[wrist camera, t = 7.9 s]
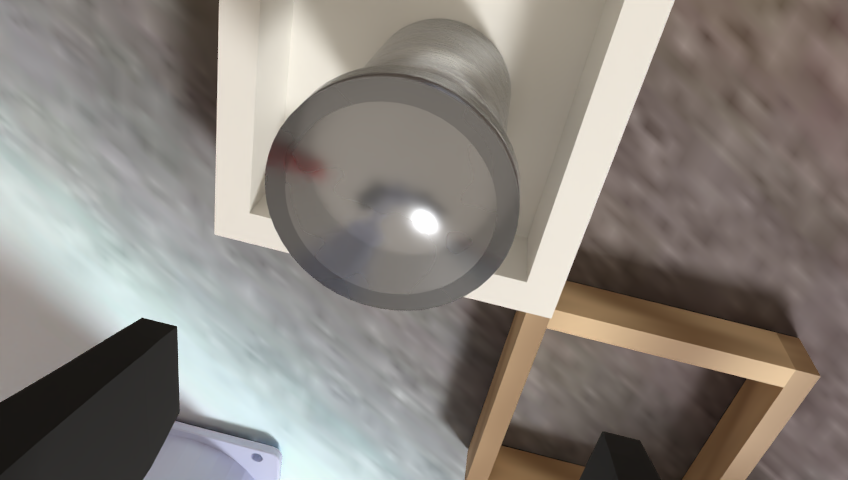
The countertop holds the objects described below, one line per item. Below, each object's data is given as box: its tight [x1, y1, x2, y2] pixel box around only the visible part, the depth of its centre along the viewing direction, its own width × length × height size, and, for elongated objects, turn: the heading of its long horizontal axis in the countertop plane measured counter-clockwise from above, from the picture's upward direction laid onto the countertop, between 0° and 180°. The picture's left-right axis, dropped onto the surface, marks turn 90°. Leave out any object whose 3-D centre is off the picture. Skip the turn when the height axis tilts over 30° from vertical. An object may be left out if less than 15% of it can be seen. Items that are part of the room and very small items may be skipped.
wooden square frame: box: [465, 281, 820, 480], centre depth 22 cm, size 9×9×2 cm
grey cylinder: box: [265, 18, 520, 311], centre depth 15 cm, size 5×5×7 cm
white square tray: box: [215, 0, 675, 319], centre depth 17 cm, size 10×10×3 cm
